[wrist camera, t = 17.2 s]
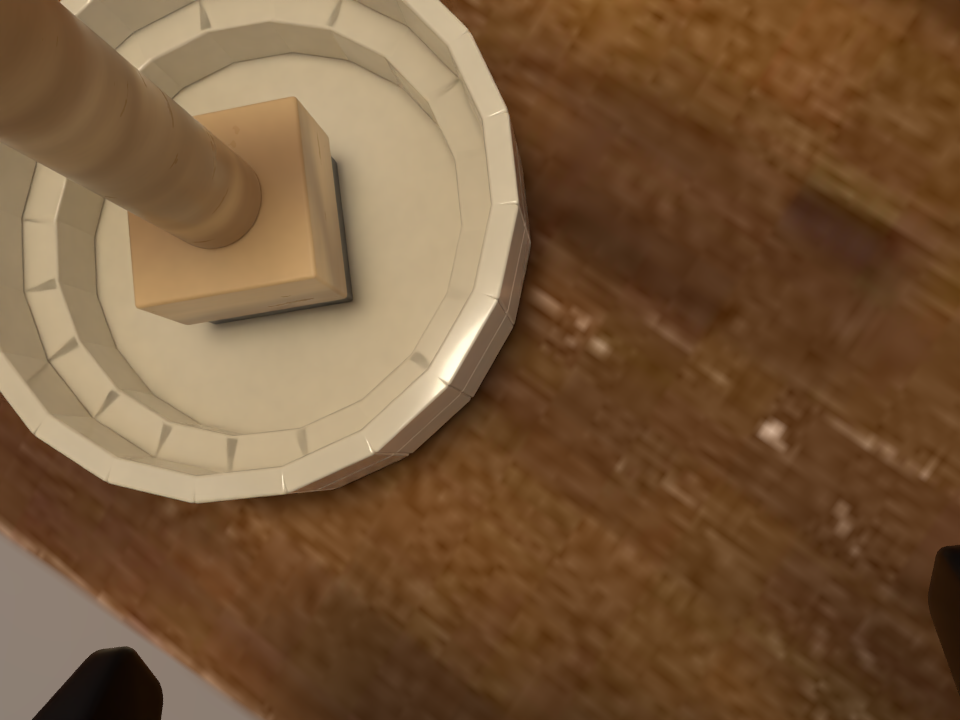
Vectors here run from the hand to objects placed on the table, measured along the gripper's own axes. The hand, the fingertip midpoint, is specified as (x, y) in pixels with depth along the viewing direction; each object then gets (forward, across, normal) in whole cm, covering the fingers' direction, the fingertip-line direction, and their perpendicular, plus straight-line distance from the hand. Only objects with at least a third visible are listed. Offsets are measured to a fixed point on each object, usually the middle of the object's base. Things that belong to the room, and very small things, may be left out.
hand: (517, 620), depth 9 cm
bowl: (+14, +6, +2) cm, 16 cm away
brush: (+14, +6, +2) cm, 15 cm away
